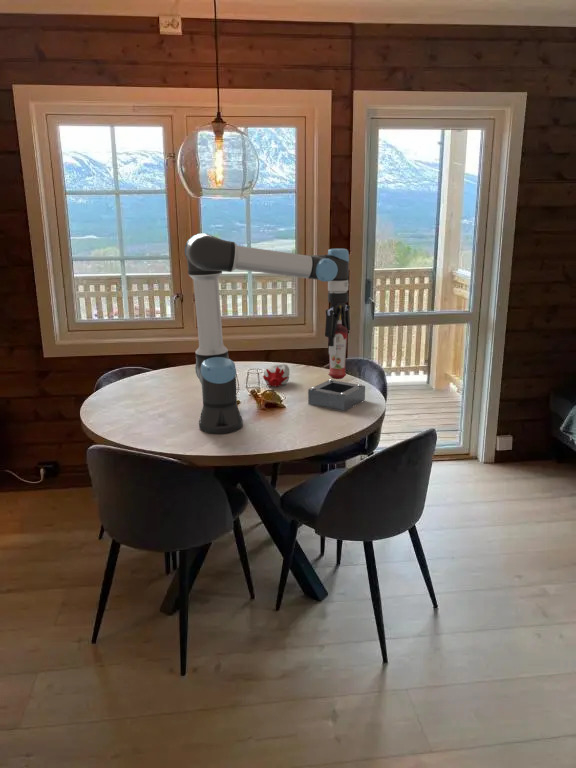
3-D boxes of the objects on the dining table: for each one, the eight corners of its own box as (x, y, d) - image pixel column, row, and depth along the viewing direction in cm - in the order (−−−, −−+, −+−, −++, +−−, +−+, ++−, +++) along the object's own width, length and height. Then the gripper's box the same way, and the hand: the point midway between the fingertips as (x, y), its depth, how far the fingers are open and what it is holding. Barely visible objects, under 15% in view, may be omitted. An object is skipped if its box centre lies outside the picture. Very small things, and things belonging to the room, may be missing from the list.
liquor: (328, 380, 222) (328, 306, 214) (327, 375, 229) (327, 303, 221) (347, 379, 222) (349, 306, 214) (345, 374, 229) (346, 303, 221)
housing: (344, 411, 218) (344, 394, 216) (308, 404, 227) (308, 387, 225) (364, 400, 230) (365, 384, 228) (329, 393, 239) (330, 378, 237)
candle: (289, 379, 258) (289, 393, 244) (264, 379, 258) (262, 393, 244) (289, 360, 254) (288, 373, 241) (263, 360, 255) (261, 373, 241)
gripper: (332, 295, 206) (332, 358, 213) (360, 289, 222) (359, 348, 228) (314, 294, 210) (315, 356, 217) (343, 287, 226) (342, 345, 233)
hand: (337, 352), depth 223 cm, fingers closed on liquor, 7 cm apart
